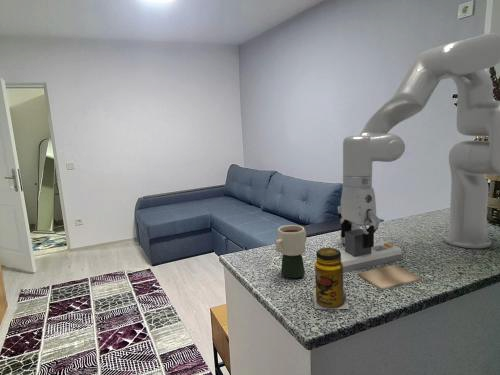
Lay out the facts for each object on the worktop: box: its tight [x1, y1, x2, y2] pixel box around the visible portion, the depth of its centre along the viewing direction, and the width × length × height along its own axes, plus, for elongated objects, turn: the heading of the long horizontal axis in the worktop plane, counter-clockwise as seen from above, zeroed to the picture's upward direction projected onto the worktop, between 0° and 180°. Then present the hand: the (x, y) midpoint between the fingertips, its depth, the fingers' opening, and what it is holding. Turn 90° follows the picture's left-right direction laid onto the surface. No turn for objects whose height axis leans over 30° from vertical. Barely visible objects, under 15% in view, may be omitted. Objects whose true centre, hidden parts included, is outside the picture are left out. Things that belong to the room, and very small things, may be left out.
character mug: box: [275, 224, 307, 279], centre depth 87 cm, size 11×7×13 cm, turn 128°
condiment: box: [312, 247, 350, 310], centre depth 74 cm, size 7×8×12 cm
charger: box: [344, 228, 371, 257], centre depth 93 cm, size 6×4×7 cm
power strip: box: [339, 241, 402, 273], centre depth 94 cm, size 20×7×4 cm, turn 109°
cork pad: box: [357, 264, 422, 291], centre depth 83 cm, size 12×9×1 cm
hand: (356, 241), depth 92 cm, fingers open, 9 cm apart
